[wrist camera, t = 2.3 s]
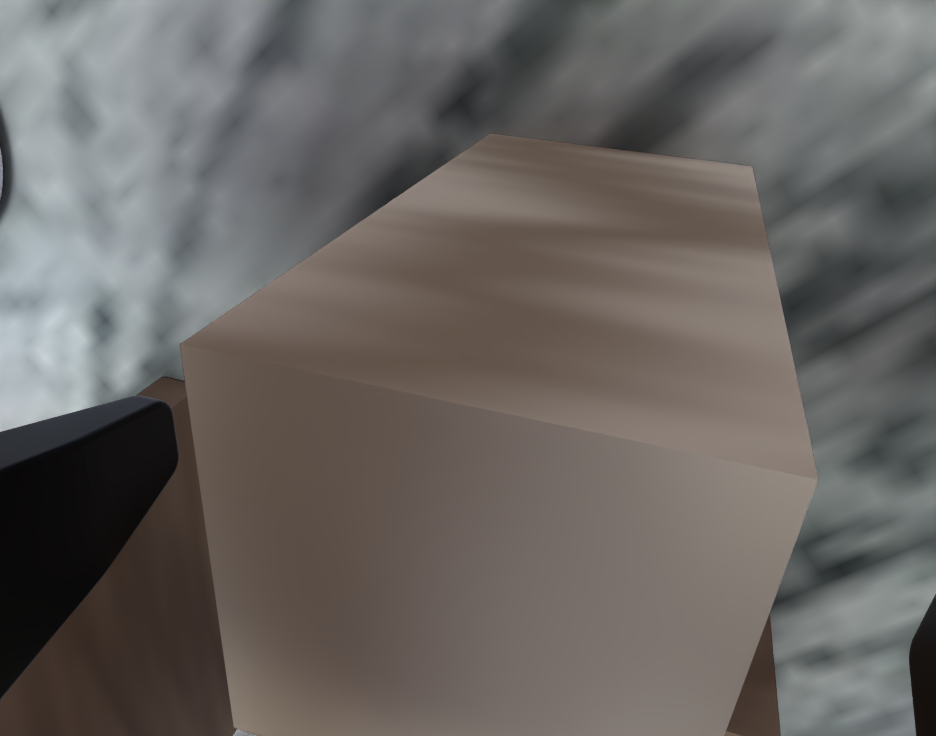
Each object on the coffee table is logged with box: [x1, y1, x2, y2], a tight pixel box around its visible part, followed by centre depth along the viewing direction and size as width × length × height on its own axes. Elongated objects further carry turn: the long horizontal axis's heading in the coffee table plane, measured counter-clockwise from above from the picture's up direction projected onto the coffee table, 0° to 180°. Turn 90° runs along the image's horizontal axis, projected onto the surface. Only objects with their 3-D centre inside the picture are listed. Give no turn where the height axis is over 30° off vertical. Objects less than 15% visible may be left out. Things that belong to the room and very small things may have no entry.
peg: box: [180, 133, 819, 736], centre depth 11 cm, size 5×5×10 cm
